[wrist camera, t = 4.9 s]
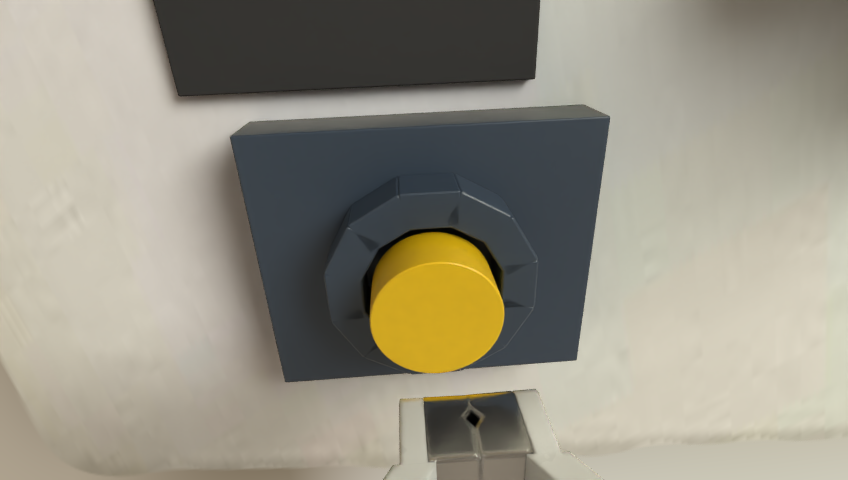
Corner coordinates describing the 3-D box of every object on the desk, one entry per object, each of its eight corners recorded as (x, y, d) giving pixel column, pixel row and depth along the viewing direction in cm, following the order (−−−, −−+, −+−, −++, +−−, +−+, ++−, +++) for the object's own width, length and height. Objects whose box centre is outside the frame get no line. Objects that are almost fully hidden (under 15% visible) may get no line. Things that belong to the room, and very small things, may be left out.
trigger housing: (294, 347, 20) (274, 418, 17) (248, 121, 16) (208, 151, 12) (559, 328, 21) (594, 392, 17) (584, 104, 17) (638, 128, 13)
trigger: (377, 337, 16) (375, 378, 14) (366, 234, 14) (363, 267, 13) (489, 329, 16) (502, 369, 14) (492, 227, 15) (507, 257, 13)
